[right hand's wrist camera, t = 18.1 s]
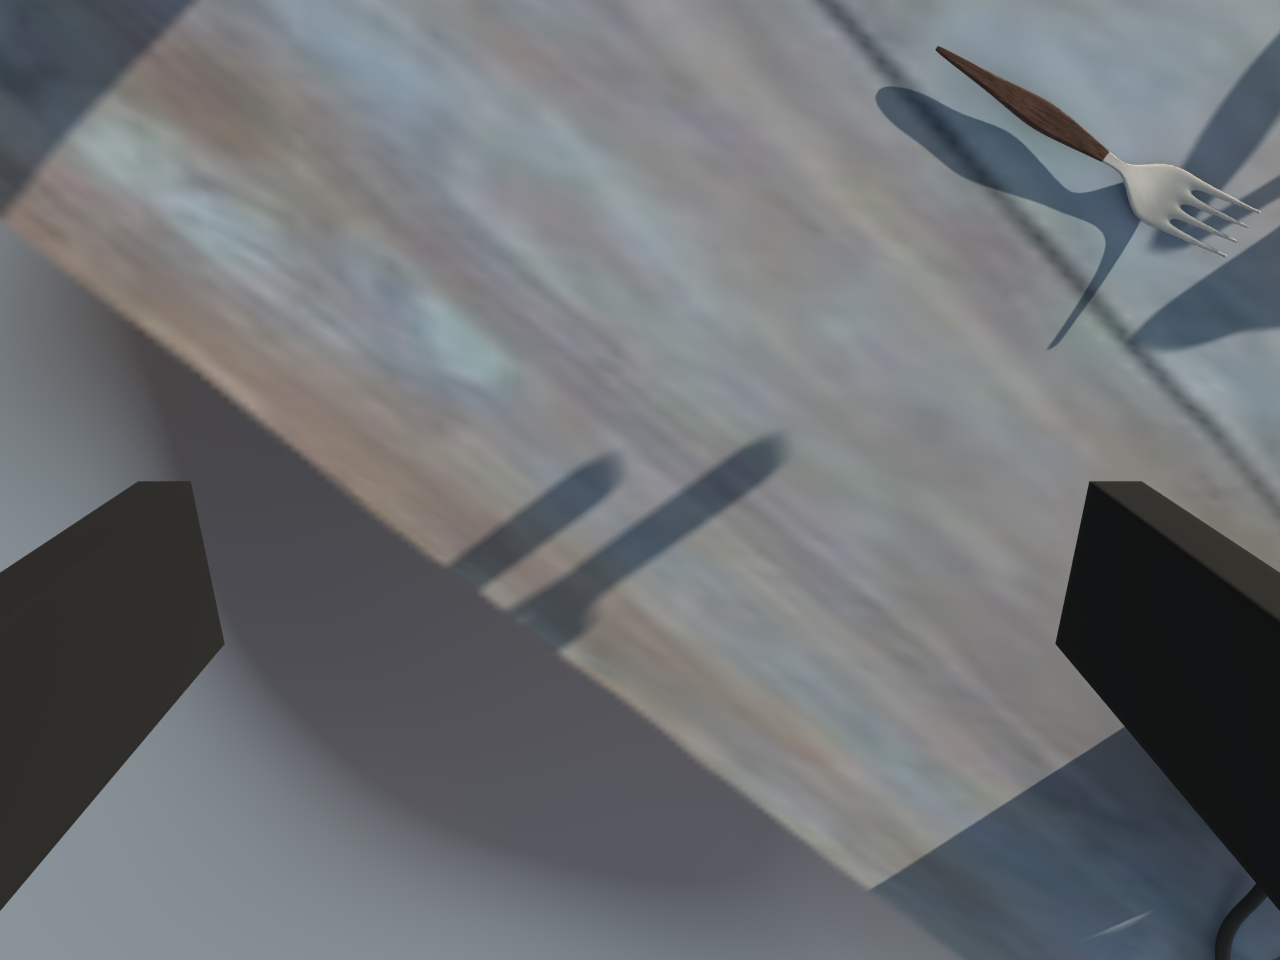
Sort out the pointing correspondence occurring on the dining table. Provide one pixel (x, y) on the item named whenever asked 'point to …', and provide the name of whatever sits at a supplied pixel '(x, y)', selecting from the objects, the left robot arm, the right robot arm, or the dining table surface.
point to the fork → (1110, 159)
